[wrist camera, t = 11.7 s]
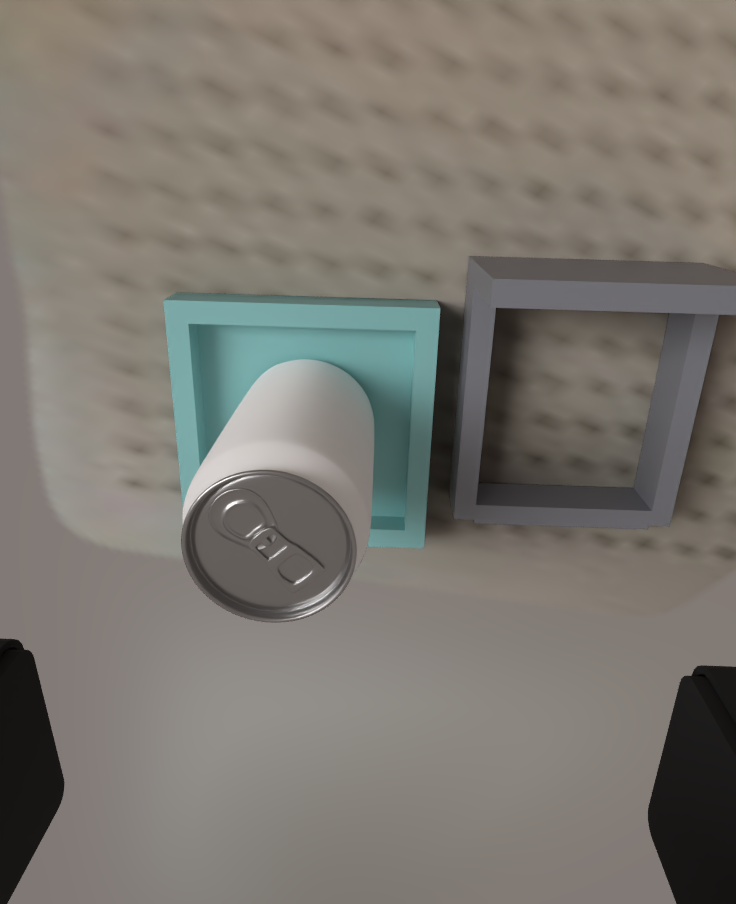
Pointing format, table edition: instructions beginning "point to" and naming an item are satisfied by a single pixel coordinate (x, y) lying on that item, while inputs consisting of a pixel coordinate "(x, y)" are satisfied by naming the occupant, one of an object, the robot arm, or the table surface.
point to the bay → (673, 402)
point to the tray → (324, 339)
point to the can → (284, 495)
